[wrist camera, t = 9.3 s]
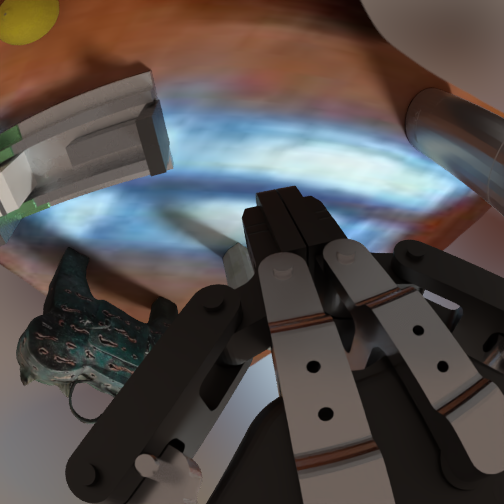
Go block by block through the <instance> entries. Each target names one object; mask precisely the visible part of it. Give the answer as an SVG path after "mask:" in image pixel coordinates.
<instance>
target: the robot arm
mask: <svg viewBox="0 0 504 504" xmlns="http://www.w3.org/2000/svg"><path fill="white" fill-rule="evenodd" d="M406 133H407V137H408V139H409V142H410V143H411V145H412V146H413V147H414V148H415V149H416V150H418V151H419V152H421V153H422V154H424V155H425V156H427V157H428V158H430V159H431V160H433V161H434V162H436V163H437V164H438V165H440V166H441V167H443V168H444V169H445V170H447V171H448V172H450V173H451V174H452V175H454V176H455V177H456V178H458V179H459V180H460V181H462V182H463V183H464V184H466V185H467V186H468V187H469V188H471V189H472V190H473V191H474V192H476V193H477V194H478V195H479V196H481V197H482V198H483V199H484V200H485V201H487V202H488V203H489V204H490V205H491V206H493V207H494V208H495V209H496V210H497V211H498V212H500V213H501V214H502V215H503V216H504V118H502V117H500V116H498V115H496V114H494V113H492V112H490V111H488V110H486V109H484V108H482V107H480V106H478V105H476V104H473V103H471V102H469V101H467V100H464V99H462V98H460V97H457V96H455V95H453V94H450V93H447V92H445V91H442V90H440V89H437V88H428V89H425V90H423V91H421V92H420V93H419V94H417V95H416V96H415V98H414V99H413V100H412V102H411V104H410V106H409V108H408V111H407V115H406ZM256 204H257V206H256V207H251V208H246V209H245V210H244V213H243V216H242V221H243V227H244V233H245V239H246V245H247V250H248V253H249V257H250V260H251V264H252V267H253V271H254V275H253V277H252V278H251V279H250V280H249V281H248V282H247V283H245V284H244V285H242V286H240V287H238V288H236V289H233V288H231V287H229V286H227V285H220V284H217V285H210V286H207V287H205V288H202V289H201V290H199V291H198V292H197V293H195V295H194V296H193V297H192V298H191V299H190V301H189V302H188V303H187V304H186V306H185V307H184V308H183V309H182V311H181V312H180V313H179V315H178V316H177V317H176V318H175V320H174V321H173V322H172V323H171V325H170V326H169V327H168V329H167V330H166V331H165V332H164V334H163V335H162V336H161V338H160V339H159V340H158V341H157V343H156V344H155V345H154V347H153V348H152V349H151V350H150V352H149V353H148V354H147V356H146V357H145V358H144V360H143V361H142V362H141V363H140V365H139V366H138V367H137V369H136V370H135V371H134V373H133V374H132V375H131V377H130V378H129V379H128V380H127V382H126V383H125V384H124V386H123V387H122V388H121V390H120V391H119V392H118V394H117V395H116V396H115V398H114V399H113V400H112V402H111V403H110V404H109V406H108V407H107V408H106V410H105V411H104V412H103V413H102V415H101V416H100V418H99V419H98V420H97V422H96V423H95V424H94V426H93V427H92V428H91V430H90V431H89V432H88V434H87V435H86V436H85V438H84V439H83V440H82V442H81V443H80V445H79V446H78V447H77V449H76V450H75V451H74V453H73V454H72V455H71V457H70V458H69V460H68V462H67V465H66V471H65V475H66V481H67V484H68V486H69V488H70V490H71V491H72V492H73V494H74V495H75V496H76V497H78V498H79V499H81V500H82V501H85V502H88V503H92V504H197V495H198V491H199V489H200V487H201V484H202V472H201V469H200V468H199V466H198V464H197V463H196V462H195V461H194V460H193V459H192V458H193V457H194V455H195V454H196V452H197V451H198V449H199V448H200V446H201V444H202V443H203V441H204V440H205V438H206V436H207V435H208V433H209V432H210V430H211V429H212V427H213V426H214V424H215V422H216V421H217V419H218V417H219V416H220V414H221V413H222V411H223V409H224V408H225V406H226V404H227V403H228V401H229V400H230V398H231V396H232V394H233V393H234V391H235V389H236V388H237V386H238V385H239V383H240V381H241V380H242V378H243V376H244V374H245V373H246V371H247V369H248V368H249V366H250V364H251V362H252V359H253V357H254V356H256V355H258V354H260V353H261V352H263V351H265V350H267V349H268V348H271V353H272V359H273V364H274V369H275V375H276V381H277V387H278V393H279V397H278V398H277V399H275V400H274V401H272V402H271V403H269V404H268V405H267V406H266V407H265V408H264V409H263V410H262V411H261V412H260V413H259V414H258V415H257V416H256V417H255V419H254V420H253V422H252V423H251V425H250V426H249V428H248V430H247V432H246V434H245V436H244V438H243V439H242V441H241V443H240V445H239V447H238V449H237V451H236V452H235V454H234V456H233V458H232V460H231V462H230V463H229V465H228V467H227V469H226V471H225V472H224V474H223V476H222V478H221V479H220V481H219V483H218V485H217V486H216V488H215V490H214V491H213V493H212V495H211V496H210V498H209V500H208V501H207V503H206V504H504V278H502V277H500V276H498V275H496V274H494V273H491V272H489V271H487V270H485V269H483V268H481V267H478V266H476V265H474V264H472V263H469V262H467V261H465V260H462V259H460V258H458V257H456V256H453V255H451V254H449V253H446V252H444V251H442V250H439V249H437V248H434V247H432V246H429V245H427V244H425V243H422V242H419V241H416V240H403V241H401V242H399V243H397V244H396V246H395V248H394V252H393V253H371V252H369V251H368V250H367V249H366V247H365V246H364V245H362V244H361V243H359V242H357V241H355V240H351V239H348V238H347V237H346V235H345V234H344V232H343V231H342V230H341V228H340V227H339V225H338V224H337V223H336V221H335V220H334V218H333V217H332V216H331V214H330V213H329V212H328V211H327V209H326V207H325V206H324V205H323V203H322V202H321V201H319V200H318V199H316V198H314V197H312V196H307V197H303V196H302V195H301V193H300V192H299V190H298V189H297V187H296V186H290V187H285V188H279V189H276V190H275V189H274V190H269V191H264V192H259V193H256ZM425 290H428V291H430V292H432V293H434V294H437V295H439V296H441V297H443V298H445V299H448V300H450V301H452V302H454V303H456V304H458V305H460V307H459V308H458V309H456V310H450V309H448V308H445V307H443V306H441V305H439V304H436V303H434V302H432V301H430V300H428V299H426V298H424V297H423V293H424V291H425Z"/></svg>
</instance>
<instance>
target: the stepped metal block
mask: <svg viewBox="0 0 504 504" xmlns="http://www.w3.org/2000/svg"><path fill="white" fill-rule="evenodd" d="M140 144H141V145H142V148H143V152H144V155H145V159H146V162H147V165H148V169H149V172H150V175H151V176H154V175H158V174H162V173H165V172H167V162H168V153H169V145H170V142H169V138H168V134H167V130H166V126H165V122H164V117H163V113H162V109H161V105H160V100H155V101H153V102H149V103H146V104H145V106H144V107H143V109H142V111H141V112H140V114H139V115H138V117H137V119H134V120H130V121H127V122H124V123H121V124H118V125H114V126H111V127H108V128H106V129H103V130H100V131H97V132H94V133H91V134H89V135H86V136H83V137H81V138H78V139H75V140H73V141H71V142H70V143H69V144H68V146H67V147H66V151H67V154H68V157H69V159H70V162H71V164H72V167H73V166H76V165H79V164H81V163H84V162H87V161H90V160H93V159H96V158H98V157H101V156H104V155H107V154H111V153H114V152H117V151H120V150H123V149H126V148H130V147H133V146H136V145H140Z"/></svg>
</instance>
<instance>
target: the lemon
mask: <svg viewBox="0 0 504 504" xmlns="http://www.w3.org/2000/svg"><path fill="white" fill-rule="evenodd" d="M58 14H59V2H58V0H5V1H4V2H3V3H2V5H1V6H0V39H1V40H2V41H3V42H6V43H8V44H11V45H25V44H29V43H32V42H34V41H36V40H38V39H40V38H41V37H43V36H44V35H45V34H47V32H48V31H49V30H50V29H51V28H52V27H53V25H54V24H55V22H56V20H57V17H58Z"/></svg>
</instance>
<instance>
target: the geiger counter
mask: <svg viewBox="0 0 504 504" xmlns="http://www.w3.org/2000/svg"><path fill="white" fill-rule="evenodd" d="M223 263H224V268H225V273H226V277H227V282H228V286H229V287H231V288H233V289H236V288H238V287H240V286H242V285H244V284H245V283H247V282H248V281H249V280H250V279H251V278H252V277H253V275H254V271H253V267H252V264H251V260H250V257H249V253H248V250H247V248H246V247H244V246H243V245H241V244H240V243H237V244H236V245H234V246H233V247H231V248H230V249H229V250H228V251H227V252H226V254H225V255H224V257H223ZM268 350H271V348H268Z"/></svg>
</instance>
